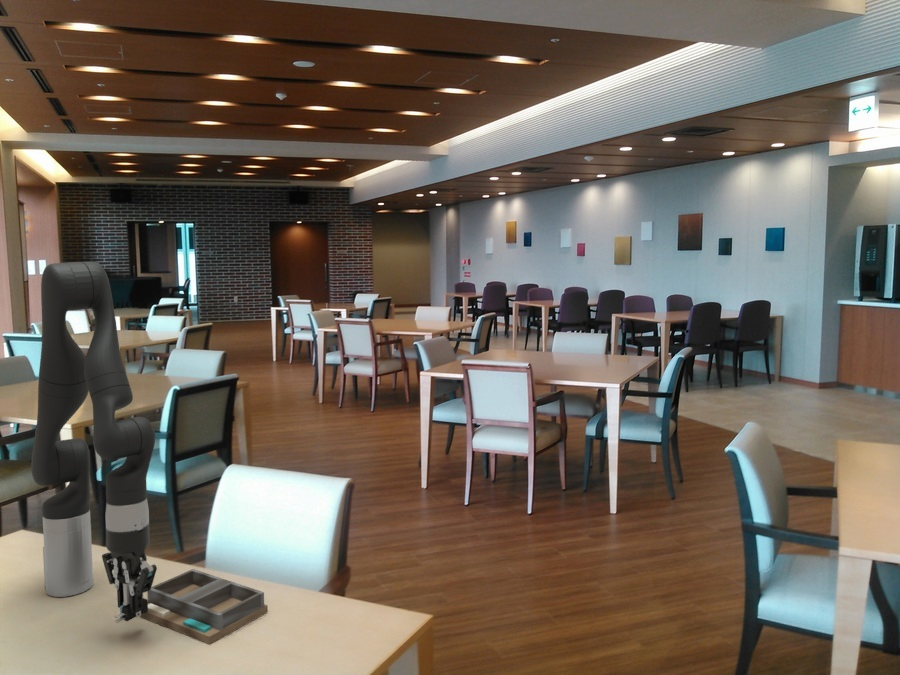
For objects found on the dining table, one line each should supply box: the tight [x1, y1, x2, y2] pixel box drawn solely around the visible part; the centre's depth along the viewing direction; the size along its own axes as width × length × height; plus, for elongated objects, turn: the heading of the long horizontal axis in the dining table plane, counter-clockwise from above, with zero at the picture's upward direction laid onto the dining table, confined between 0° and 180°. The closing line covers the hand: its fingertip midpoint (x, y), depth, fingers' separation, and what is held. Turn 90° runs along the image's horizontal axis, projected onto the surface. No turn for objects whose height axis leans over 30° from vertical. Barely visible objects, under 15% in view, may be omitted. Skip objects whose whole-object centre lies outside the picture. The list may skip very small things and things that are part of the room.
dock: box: [139, 568, 268, 645], centre depth 148 cm, size 22×15×4 cm
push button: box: [114, 573, 148, 623], centre depth 138 cm, size 7×5×10 cm
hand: (130, 608), depth 139 cm, fingers closed on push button, 3 cm apart
